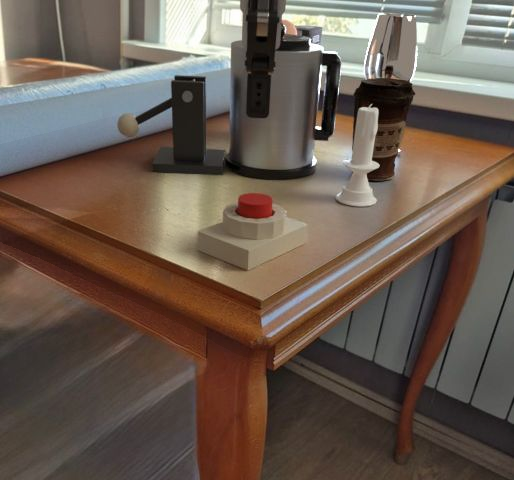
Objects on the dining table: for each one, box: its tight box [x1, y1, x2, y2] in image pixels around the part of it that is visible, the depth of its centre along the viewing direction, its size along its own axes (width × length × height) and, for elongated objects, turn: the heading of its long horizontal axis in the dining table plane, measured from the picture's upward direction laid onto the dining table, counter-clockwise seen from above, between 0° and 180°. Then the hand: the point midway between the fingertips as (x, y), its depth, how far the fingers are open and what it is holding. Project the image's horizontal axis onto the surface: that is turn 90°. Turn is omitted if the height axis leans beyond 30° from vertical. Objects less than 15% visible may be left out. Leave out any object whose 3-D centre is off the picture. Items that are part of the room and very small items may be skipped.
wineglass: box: [363, 12, 418, 155], centre depth 96 cm, size 8×8×20 cm
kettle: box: [225, 23, 342, 181], centre depth 86 cm, size 16×14×19 cm
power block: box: [197, 201, 309, 272], centre depth 65 cm, size 10×7×4 cm
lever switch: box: [116, 79, 195, 138], centre depth 86 cm, size 13×3×3 cm, turn 91°
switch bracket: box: [151, 74, 226, 176], centre depth 87 cm, size 10×9×12 cm
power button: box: [237, 192, 274, 219], centre depth 63 cm, size 4×4×2 cm
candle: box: [335, 104, 380, 208], centre depth 77 cm, size 5×5×12 cm
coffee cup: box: [350, 78, 416, 181], centre depth 86 cm, size 9×8×13 cm
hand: (257, 116), depth 59 cm, fingers closed
